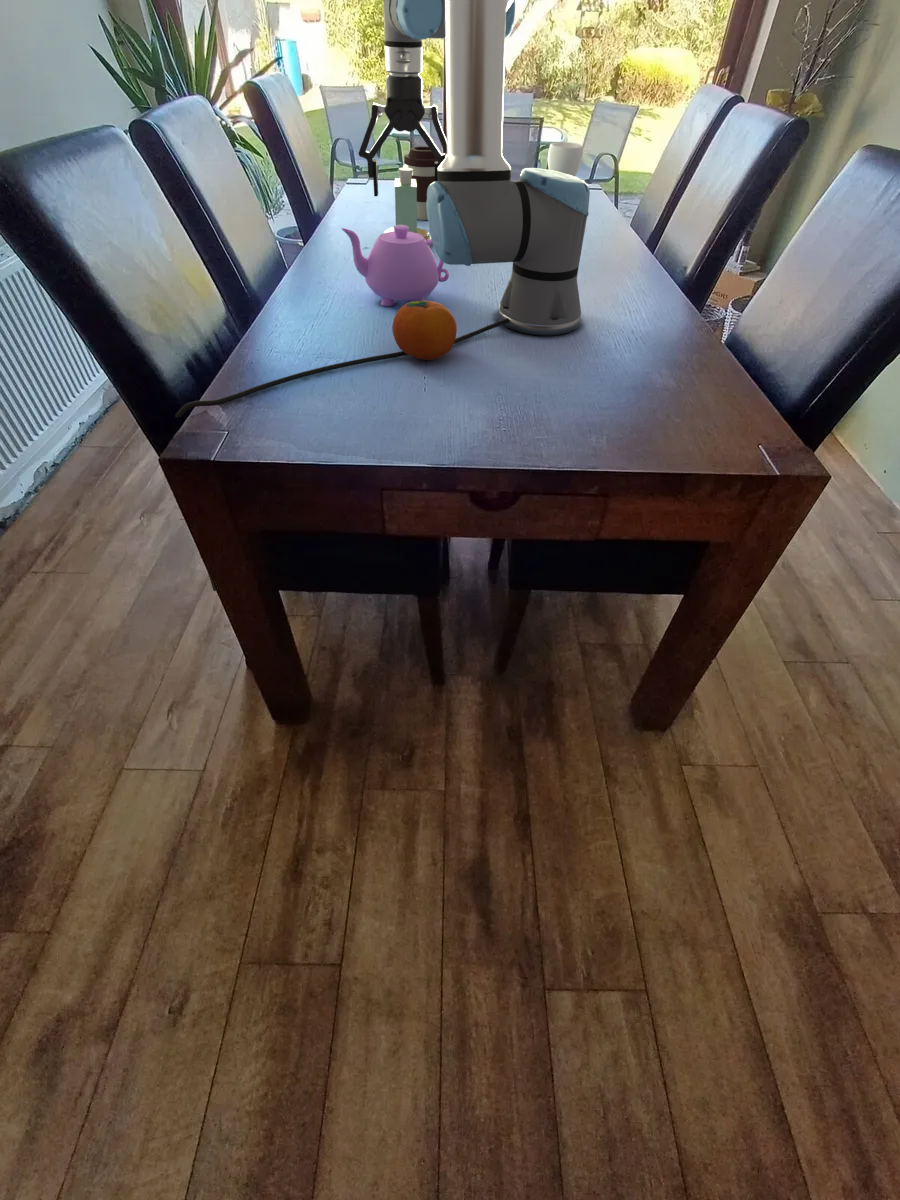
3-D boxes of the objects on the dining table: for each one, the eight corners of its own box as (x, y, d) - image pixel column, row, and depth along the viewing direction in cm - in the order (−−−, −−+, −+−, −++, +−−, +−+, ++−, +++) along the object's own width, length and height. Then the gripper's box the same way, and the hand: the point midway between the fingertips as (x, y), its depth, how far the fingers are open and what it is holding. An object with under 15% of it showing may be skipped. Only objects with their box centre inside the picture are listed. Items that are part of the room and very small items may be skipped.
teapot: (346, 311, 118) (340, 237, 109) (346, 285, 128) (341, 215, 119) (452, 310, 120) (454, 237, 111) (444, 285, 130) (446, 216, 121)
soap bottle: (383, 242, 145) (381, 173, 136) (385, 229, 152) (382, 163, 143) (428, 243, 146) (429, 174, 136) (427, 230, 153) (428, 164, 144)
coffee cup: (449, 216, 169) (451, 148, 158) (428, 224, 163) (429, 154, 152) (418, 210, 172) (418, 143, 162) (397, 217, 166) (396, 148, 156)
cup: (547, 221, 169) (556, 148, 158) (536, 212, 175) (544, 141, 164) (578, 220, 170) (589, 148, 159) (566, 211, 177) (576, 141, 165)
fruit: (468, 356, 105) (471, 307, 100) (422, 374, 100) (423, 322, 94) (425, 336, 110) (425, 288, 105) (379, 352, 105) (377, 302, 100)
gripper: (340, 74, 125) (349, 198, 140) (465, 78, 126) (461, 201, 141) (344, 71, 131) (352, 190, 145) (464, 75, 131) (460, 193, 146)
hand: (406, 196), depth 143 cm, fingers open, 13 cm apart
